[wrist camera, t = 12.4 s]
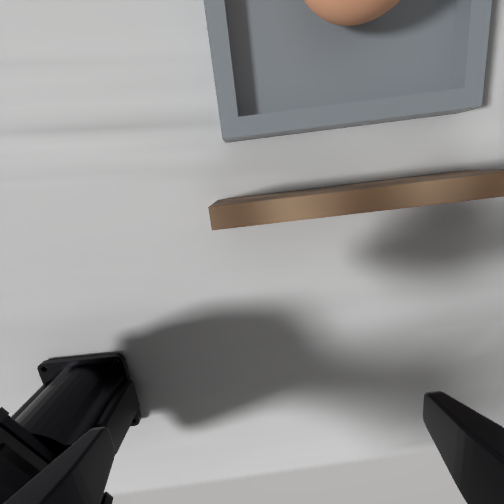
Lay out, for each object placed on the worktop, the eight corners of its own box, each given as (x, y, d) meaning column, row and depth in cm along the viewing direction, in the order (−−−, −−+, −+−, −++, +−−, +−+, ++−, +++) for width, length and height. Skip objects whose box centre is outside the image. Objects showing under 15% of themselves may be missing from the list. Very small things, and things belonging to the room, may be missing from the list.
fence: (220, 218, 18) (212, 230, 14) (217, 200, 18) (208, 207, 14) (467, 189, 18) (527, 193, 14) (469, 170, 17) (531, 168, 13)
